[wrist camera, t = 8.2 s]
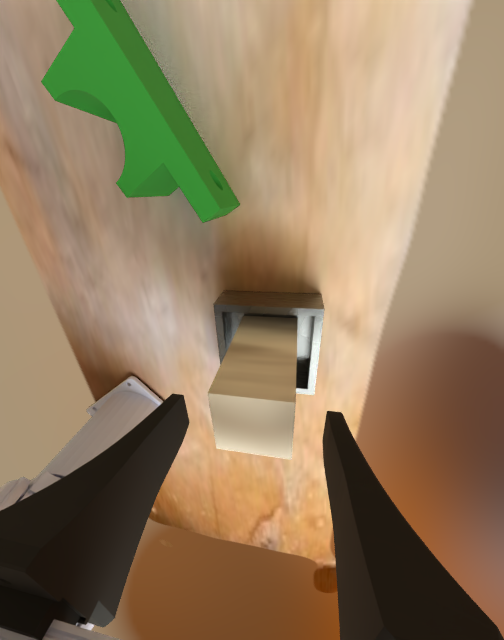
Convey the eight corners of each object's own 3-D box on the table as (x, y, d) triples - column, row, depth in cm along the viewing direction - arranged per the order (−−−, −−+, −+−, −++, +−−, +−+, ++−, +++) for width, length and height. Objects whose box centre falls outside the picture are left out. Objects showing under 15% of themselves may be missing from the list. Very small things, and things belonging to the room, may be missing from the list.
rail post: (295, 362, 19) (291, 459, 12) (245, 358, 20) (216, 448, 13) (297, 318, 17) (295, 402, 10) (243, 315, 18) (207, 393, 11)
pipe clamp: (74, 55, 13) (-24, -5, 9) (116, -9, 12) (21, -112, 8) (197, 237, 17) (164, 251, 13) (241, 205, 15) (220, 209, 11)
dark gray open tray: (312, 372, 20) (314, 395, 18) (230, 365, 21) (222, 385, 19) (321, 293, 17) (324, 309, 15) (224, 290, 18) (213, 304, 16)
